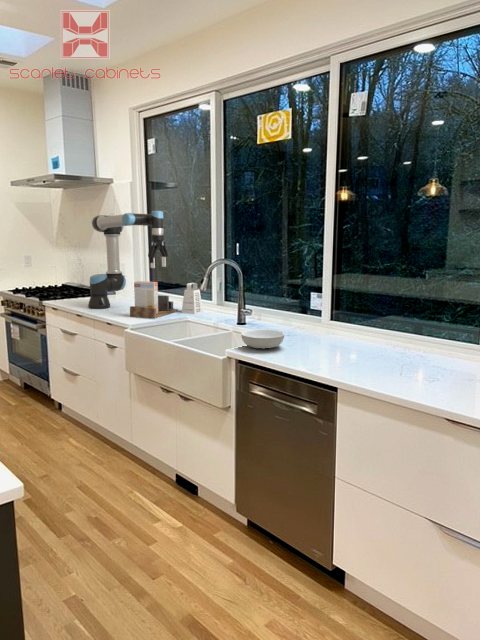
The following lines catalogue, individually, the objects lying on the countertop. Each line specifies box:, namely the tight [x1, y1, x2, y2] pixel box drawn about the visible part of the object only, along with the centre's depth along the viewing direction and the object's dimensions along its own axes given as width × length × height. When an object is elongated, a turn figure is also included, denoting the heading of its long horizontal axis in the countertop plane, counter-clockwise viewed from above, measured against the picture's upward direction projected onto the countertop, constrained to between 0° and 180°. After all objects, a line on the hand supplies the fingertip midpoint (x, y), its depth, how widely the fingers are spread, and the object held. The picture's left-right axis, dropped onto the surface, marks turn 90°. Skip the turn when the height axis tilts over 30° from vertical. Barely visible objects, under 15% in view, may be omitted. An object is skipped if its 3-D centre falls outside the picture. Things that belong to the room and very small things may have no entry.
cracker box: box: [133, 280, 159, 314], centre depth 304 cm, size 14×6×21 cm, turn 75°
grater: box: [181, 282, 204, 315], centre depth 320 cm, size 10×10×20 cm
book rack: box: [129, 305, 179, 320], centre depth 314 cm, size 18×31×6 cm, turn 159°
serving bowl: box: [240, 328, 285, 350], centre depth 228 cm, size 21×21×7 cm
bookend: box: [158, 294, 174, 311], centre depth 322 cm, size 14×10×10 cm
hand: (158, 267), depth 314 cm, fingers open, 13 cm apart
